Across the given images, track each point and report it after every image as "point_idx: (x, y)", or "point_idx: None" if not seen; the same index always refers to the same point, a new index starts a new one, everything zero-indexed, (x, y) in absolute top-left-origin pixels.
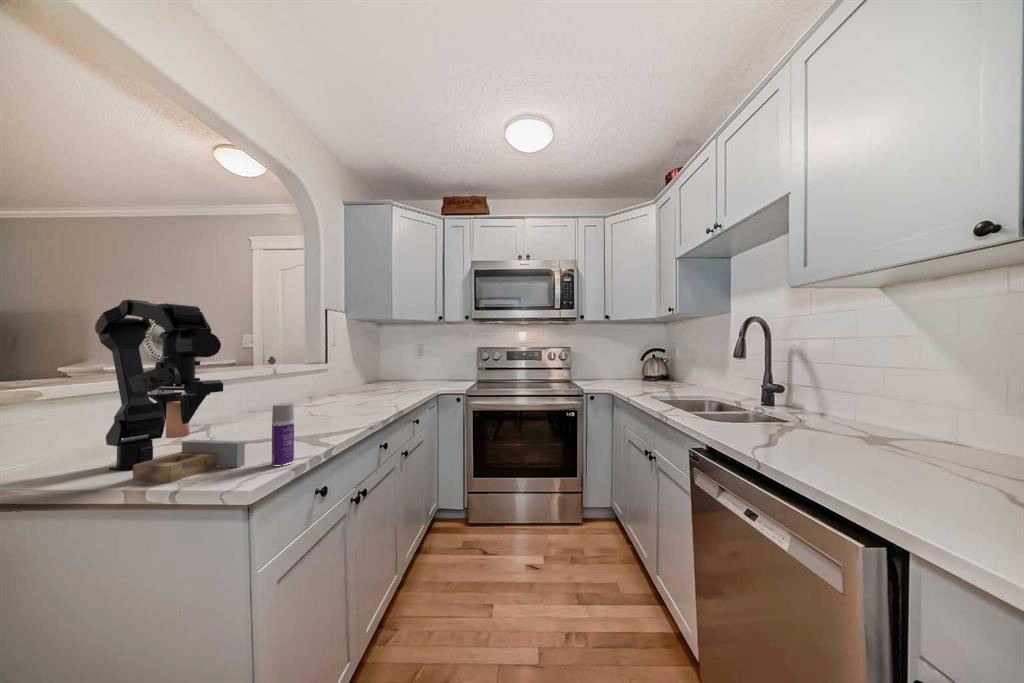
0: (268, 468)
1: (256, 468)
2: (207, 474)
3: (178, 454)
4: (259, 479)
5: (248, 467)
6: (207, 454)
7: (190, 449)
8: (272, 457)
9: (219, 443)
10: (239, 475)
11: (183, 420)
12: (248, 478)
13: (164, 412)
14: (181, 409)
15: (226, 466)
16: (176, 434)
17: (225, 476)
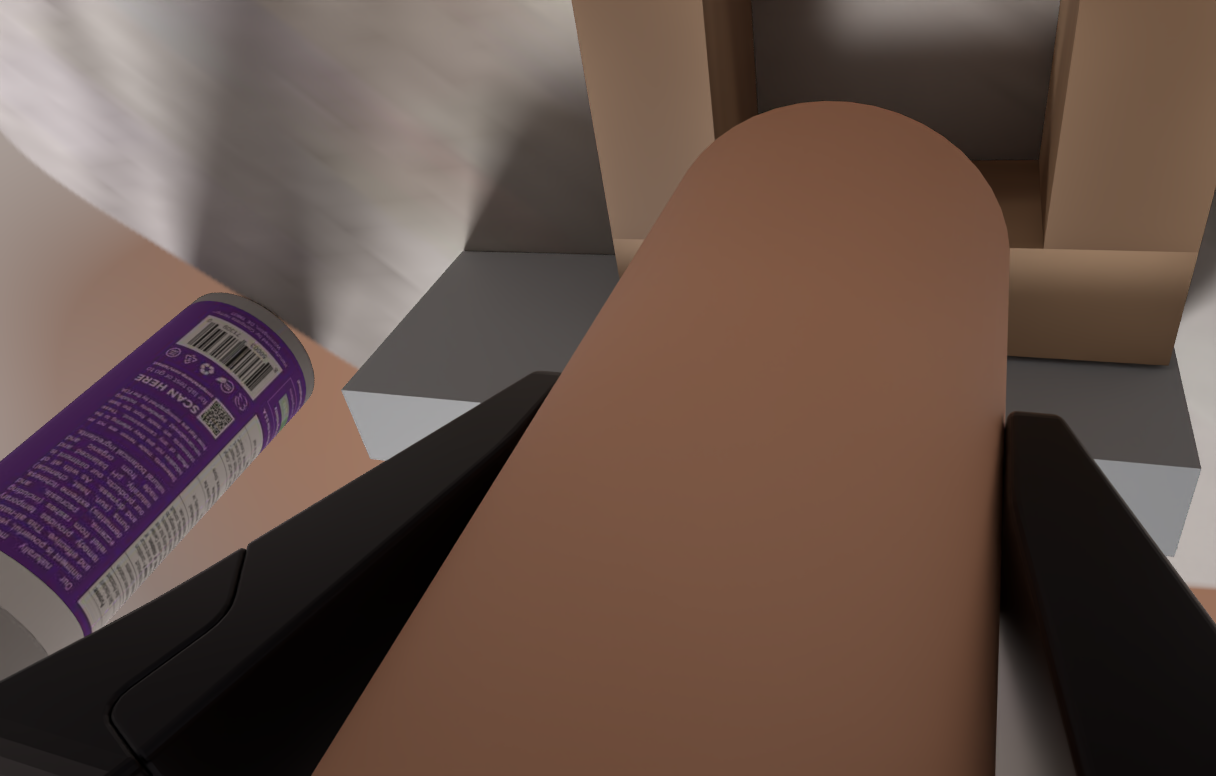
0: (228, 259)
1: (306, 252)
2: (521, 64)
3: (1082, 260)
4: (2, 33)
5: (391, 269)
6: None
7: (1022, 384)
8: (206, 340)
9: None
10: (231, 88)
11: (500, 403)
12: (91, 38)
13: (1098, 625)
14: (326, 584)
15: (565, 258)
16: (683, 188)
17: (304, 45)
